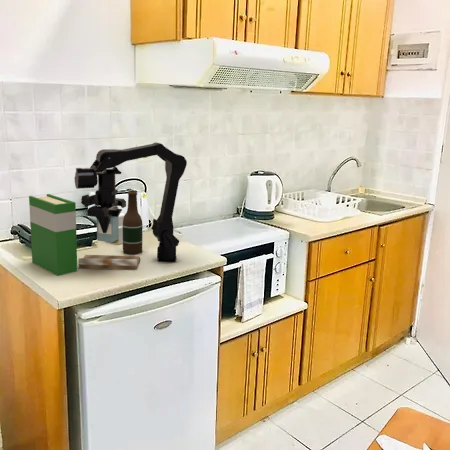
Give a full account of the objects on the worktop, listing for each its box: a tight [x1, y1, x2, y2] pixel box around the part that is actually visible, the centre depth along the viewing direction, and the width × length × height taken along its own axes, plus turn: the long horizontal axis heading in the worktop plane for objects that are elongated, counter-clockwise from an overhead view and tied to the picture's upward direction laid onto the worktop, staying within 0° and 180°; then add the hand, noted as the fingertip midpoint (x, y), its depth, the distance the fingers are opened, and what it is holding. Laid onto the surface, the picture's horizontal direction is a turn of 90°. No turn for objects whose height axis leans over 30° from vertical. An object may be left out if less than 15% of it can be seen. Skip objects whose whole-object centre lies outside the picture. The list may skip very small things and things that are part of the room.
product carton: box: [96, 216, 119, 243], centre depth 177 cm, size 5×6×8 cm
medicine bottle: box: [104, 212, 125, 245], centre depth 209 cm, size 7×7×12 cm
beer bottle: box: [122, 190, 143, 256], centre depth 195 cm, size 8×8×24 cm
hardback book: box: [28, 193, 78, 276], centre depth 175 cm, size 18×7×24 cm, turn 47°
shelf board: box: [77, 254, 141, 271], centre depth 182 cm, size 20×11×4 cm, turn 93°
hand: (107, 231), depth 177 cm, fingers closed on product carton, 5 cm apart
